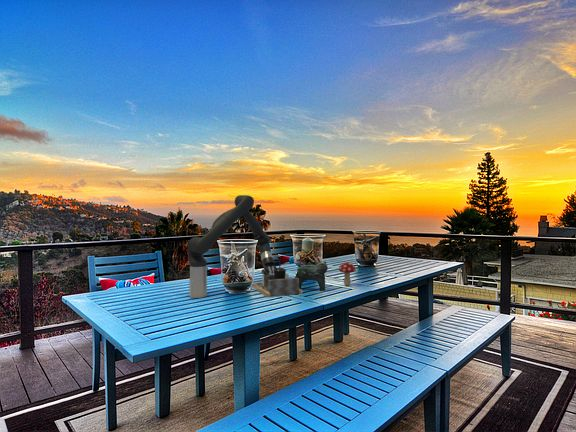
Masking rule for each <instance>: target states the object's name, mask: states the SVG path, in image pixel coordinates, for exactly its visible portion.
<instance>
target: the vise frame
mask: <svg viewBox="0 0 576 432" xmlns="http://www.w3.org/2000/svg"><path fill="white" fill-rule="evenodd" d="M252 283H253V284H252V286H251V288H253V289H254V290H256V291H257V292H258V293H260V294H262V295H263V296H264V297H266V298H271V297H283V296H292V295H302V294H303V289H302V288H301V289H299V278H295V277H288V278H286V279H274V280H268V291H266V290H264V289H263V288H262V281H260V282H259V281H258V282H252Z"/></svg>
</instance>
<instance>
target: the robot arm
mask: <svg viewBox="0 0 576 432" xmlns="http://www.w3.org/2000/svg"><path fill="white" fill-rule="evenodd" d="M254 200H255V199H254V197H253V196H251V195H249V194H241V195H240V194H239V195H237V196H236V197H235V198H234V206H235V207H232V208H231V209H229V210H226V211H225V212H223V213H222V214H220V215H219V216H218V217H217V218H215V220H214V221H213V223H212V225H211V228H210V230H209V231H208V232H207V233H206V234H205V235H204V236H202V237H199V236H198V237H197V236H196V237H195V236H194V237H192V238H191V239H189V241H188V245H187V257H188V263H189V289H188V290H189V298H191V299H201V298H205V297H207V296H208V284H207V283H208V274H207V273H208V271H207V270H208V267H207V266H208V264H207V263H208V261H207V260H206V259H205V258H204V254H206V253H207V252H208V251H209V250H210V249H211V248H212V247H213V246H214V244H215V243H216V242H217V241H218V240H219V239H220V238H221V236H223V235H224V234H225V233H226V232H227V231H228V230H229V229H230V228H231V227H232V226H233V225H234V224H235V223H237V222H238V220H239V219H240V218H241V217H242V218H244V220H245V222H246V223H247V225H248V227H249V229H250V231H251V233H252V234H253V236H255V237H254V239H253V241H254V240H258V241H259V242H258V245H257V246H256V248H257V249H258V251H259V254H260V258H261V259H260V260H261V263H262V266H263V268H262V269H261V272H260V273H261V274H262V275H271V274H274V271H273V269H275V268H278V267H277V265H276V263H275V259H274V257H273V254H272V252H271V249H270V246H269V245H268V244H269V243H270V241H271V239H270V236H269V235H268V234H267V233H266V232H265V231H264V229H263V227H262V226H261V223H260V222H259V220H258V219H257V218H256V217H255V216H254V215H253V213H251V211H250V210H251V209H252V208H253V206H254V203H255V201H254Z"/></svg>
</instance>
